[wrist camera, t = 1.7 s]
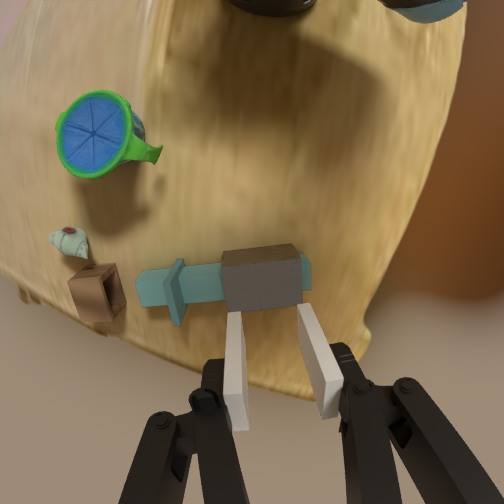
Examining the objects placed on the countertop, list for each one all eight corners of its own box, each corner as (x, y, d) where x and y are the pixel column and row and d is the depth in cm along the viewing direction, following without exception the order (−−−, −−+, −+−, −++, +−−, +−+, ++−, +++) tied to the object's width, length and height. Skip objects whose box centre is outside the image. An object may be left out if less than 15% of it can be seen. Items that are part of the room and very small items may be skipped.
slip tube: (143, 263, 40) (122, 287, 32) (302, 245, 40) (318, 266, 32) (152, 298, 42) (135, 327, 34) (304, 282, 42) (318, 310, 34)
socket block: (86, 266, 40) (67, 281, 34) (115, 262, 40) (98, 278, 34) (97, 303, 42) (81, 322, 36) (126, 301, 42) (112, 321, 36)
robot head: (62, 237, 38) (40, 249, 32) (66, 214, 37) (42, 223, 31) (100, 253, 40) (80, 268, 33) (105, 229, 39) (84, 241, 32)
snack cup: (185, 129, 35) (167, 118, 25) (149, 194, 37) (121, 205, 28) (103, 88, 32) (68, 73, 22) (72, 149, 34) (32, 150, 25)
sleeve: (223, 251, 40) (220, 267, 34) (292, 243, 41) (301, 258, 34) (229, 292, 43) (228, 313, 36) (294, 284, 43) (302, 304, 37)
